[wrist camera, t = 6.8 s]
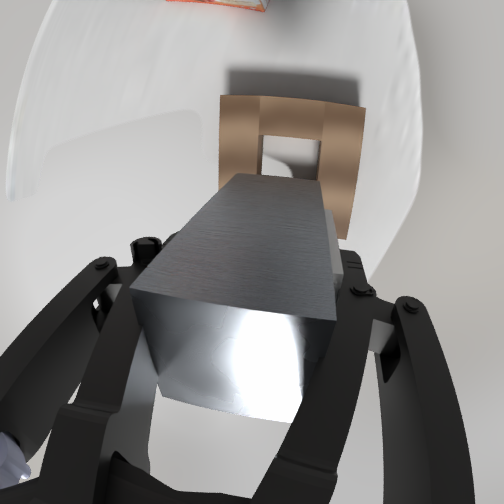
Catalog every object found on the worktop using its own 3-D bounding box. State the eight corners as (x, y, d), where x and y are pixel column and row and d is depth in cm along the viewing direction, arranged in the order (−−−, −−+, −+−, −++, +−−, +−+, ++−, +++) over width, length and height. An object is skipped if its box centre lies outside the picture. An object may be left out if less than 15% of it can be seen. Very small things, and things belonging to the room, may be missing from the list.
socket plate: (229, 96, 32) (220, 95, 28) (359, 107, 29) (365, 108, 26) (226, 212, 40) (218, 224, 36) (342, 226, 37) (346, 239, 34)
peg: (237, 172, 17) (128, 287, 7) (319, 181, 16) (336, 320, 6) (235, 245, 19) (162, 396, 9) (309, 254, 19) (299, 423, 8)
